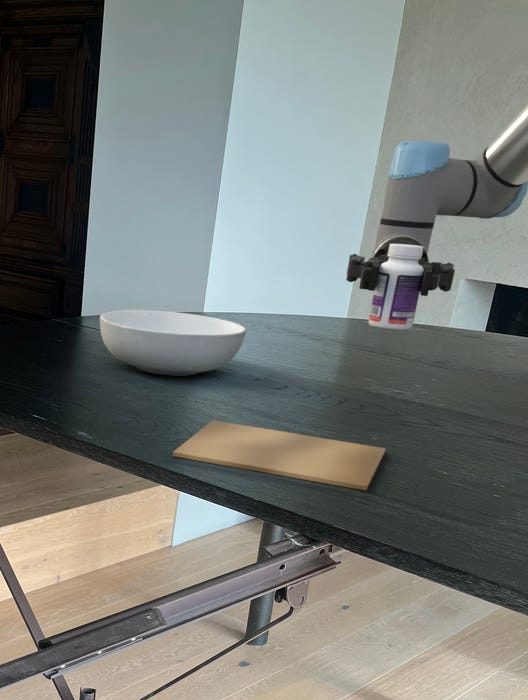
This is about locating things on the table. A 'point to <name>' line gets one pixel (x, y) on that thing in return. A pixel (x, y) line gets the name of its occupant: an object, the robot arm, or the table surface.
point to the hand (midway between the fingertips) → (400, 281)
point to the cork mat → (284, 454)
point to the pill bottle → (397, 288)
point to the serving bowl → (170, 340)
